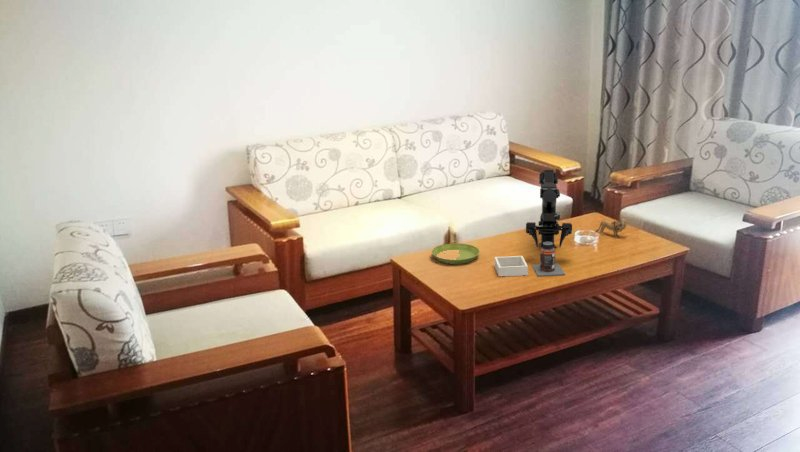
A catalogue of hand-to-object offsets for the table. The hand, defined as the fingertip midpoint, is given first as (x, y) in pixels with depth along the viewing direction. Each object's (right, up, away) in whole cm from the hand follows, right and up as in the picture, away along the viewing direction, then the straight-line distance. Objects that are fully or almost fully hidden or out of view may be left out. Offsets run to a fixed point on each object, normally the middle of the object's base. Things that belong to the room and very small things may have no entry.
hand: (548, 246), depth 274 cm
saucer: (-37, -5, +16) cm, 41 cm away
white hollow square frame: (-16, -10, -1) cm, 19 cm away
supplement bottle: (-1, -9, -3) cm, 10 cm away
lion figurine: (+37, +4, +33) cm, 50 cm away
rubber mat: (-1, -10, -3) cm, 10 cm away
